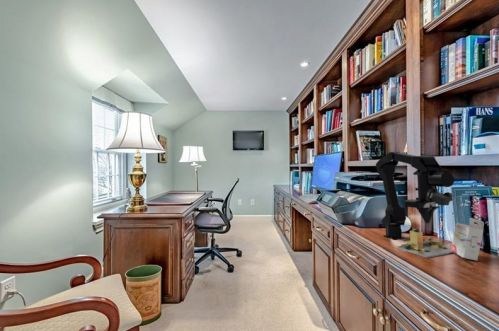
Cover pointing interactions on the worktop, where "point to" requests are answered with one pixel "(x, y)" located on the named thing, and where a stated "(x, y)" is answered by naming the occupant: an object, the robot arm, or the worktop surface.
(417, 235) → the slider
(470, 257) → the ink cartridge box
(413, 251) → the flange plate
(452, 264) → the worktop surface
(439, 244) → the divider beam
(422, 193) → the robot arm
